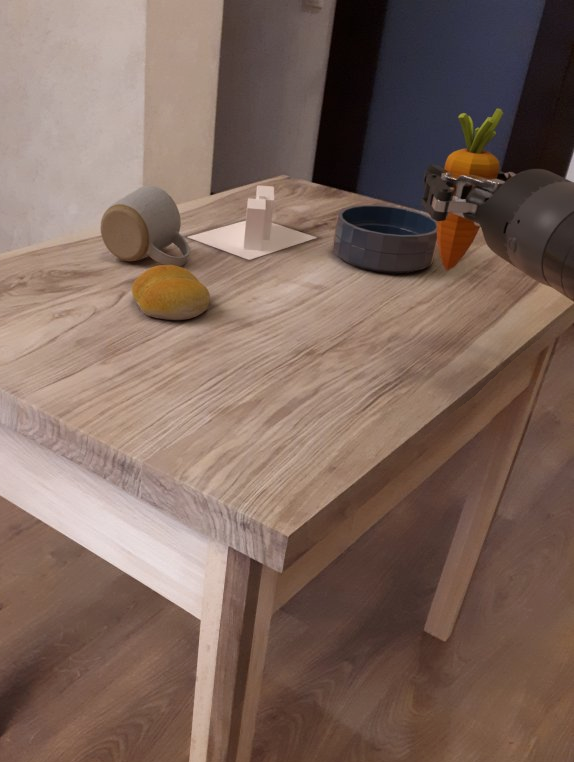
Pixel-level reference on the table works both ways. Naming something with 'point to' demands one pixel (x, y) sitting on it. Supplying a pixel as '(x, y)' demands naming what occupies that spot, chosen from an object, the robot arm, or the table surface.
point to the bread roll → (170, 293)
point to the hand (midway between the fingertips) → (455, 175)
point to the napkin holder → (254, 230)
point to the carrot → (476, 161)
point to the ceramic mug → (144, 227)
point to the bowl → (385, 238)
